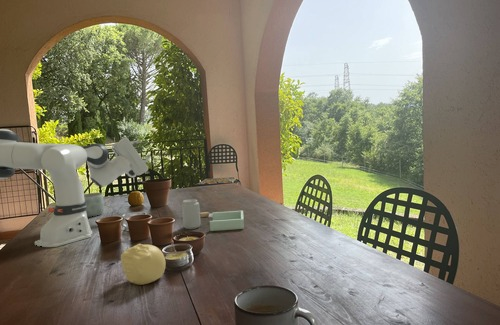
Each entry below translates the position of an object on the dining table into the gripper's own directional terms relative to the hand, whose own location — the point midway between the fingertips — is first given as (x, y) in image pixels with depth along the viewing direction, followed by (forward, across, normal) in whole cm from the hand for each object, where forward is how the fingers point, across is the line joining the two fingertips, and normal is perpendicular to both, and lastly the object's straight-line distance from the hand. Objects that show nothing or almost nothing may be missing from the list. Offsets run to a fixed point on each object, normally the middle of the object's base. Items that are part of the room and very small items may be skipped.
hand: (144, 148), depth 202 cm
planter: (-39, +17, -19) cm, 46 cm away
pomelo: (-45, +15, +88) cm, 100 cm away
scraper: (-4, +37, +29) cm, 47 cm away
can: (-14, +32, +44) cm, 56 cm away
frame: (-3, +38, +52) cm, 64 cm away
